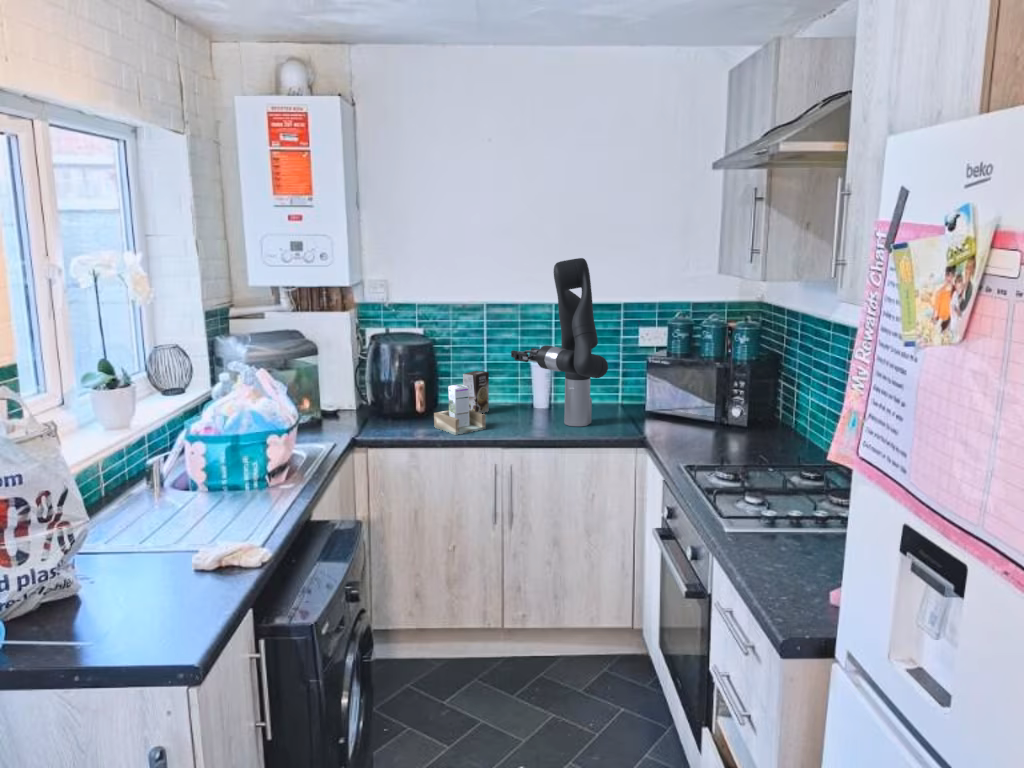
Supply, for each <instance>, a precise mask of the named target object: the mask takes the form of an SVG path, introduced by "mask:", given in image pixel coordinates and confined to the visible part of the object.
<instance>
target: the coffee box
mask: <svg viewBox="0 0 1024 768" xmlns="http://www.w3.org/2000/svg"><path fill="white" fill-rule="evenodd" d="M489 373H490V372H489V371H484V370H482V371H480V370H473V371H469V372H466V373H462V385H464V386H467V387H469V410H472V411H475V412H479V413H483V414H486V413H485V412H487V413H489V412H488V411H489V410H490V408H489V407H490V406H489V403H490V402H489V400H490V399H489V398H490V397H489V393H490V392H489V391H490V390H489V389H490V388H489V387H490V386H489V383H490V382H489V377H490V375H489Z"/></svg>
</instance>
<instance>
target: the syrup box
mask: <svg viewBox="0 0 1024 768" xmlns="http://www.w3.org/2000/svg"><path fill="white" fill-rule="evenodd" d="M448 410H449V416H451V417H454V418H457V419H459V427H466V426H469V387H467V386H464V385H463V384H452V385H448Z"/></svg>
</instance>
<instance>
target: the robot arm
mask: <svg viewBox="0 0 1024 768" xmlns="http://www.w3.org/2000/svg"><path fill="white" fill-rule="evenodd" d="M553 279H554V285H555V289H556V294H557V304H558V306H557V307H558V319H559V325H560V333H561V341H560V342H561V347H559V346H558V347H557V346H553V345H543V346H541V347H540V348H535V347H533V348H531V349H529V350H527V349H526V350H524V351H519V350H511V353H510V356H511V358H513V359H514V361H519V362H524V363H528V362H533V363H537V365H538V366H539V367H540V368H542V369H545V370H550V371H554V372H564V373H565V374H564V378H565V379H564V417H563V419H564V422H563V423H564V425H566V426H569V427H587V426H588V425H590V424H592V414H593V412H592V411H593V406H592V405H593V398H592V397H591V378H593V379H601V378H603V377H604V376H605V375H607V373H608V370H609V364H608V361H607V359H606V358H605V357H604V356H602V355H599V354H594V353H592V352H593V351H592V350H593V349H594V348H596V347H597V345H598V343H599V341H598V339H599V338H598V334H597V328H596V324H595V319H594V318H595V317H594V307H593V304H594V303H593V294H592V281H591V274H590V268H589V265H588V262H587V260H586V258H583V257H578V258H572V259H566V260H561V261H557V262H556V263H555V264H554V267H553ZM579 288H580V289H581V295H580V296H579V295H578V294H575V293H574V292H573V291H571V290H574V289H579Z"/></svg>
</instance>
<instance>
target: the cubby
mask: <svg viewBox="0 0 1024 768" xmlns="http://www.w3.org/2000/svg"><path fill="white" fill-rule="evenodd" d="M486 421H487V420H486V413H483V414H482V413H479V412H475V411H472V410H469V426H466V427H459V419H457V418H454V417H451V416H449V409H448V410H444V411H443V410H442V411H438V412H433V423H434V424H433V425H434V426H433V427H435V429H437V430H439V429H440V431H442V430H443V431H442V432H445V431H446V433H448V432H449V433H448V434H451V435H454V436H459V435H458V434H460V435H464V434H463V433H465V434H468V432H470V433H474V432H473V431H475V432H479V431H478V430H480V431H484V430H483V429H485V430H486V427H487V426H486Z"/></svg>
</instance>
